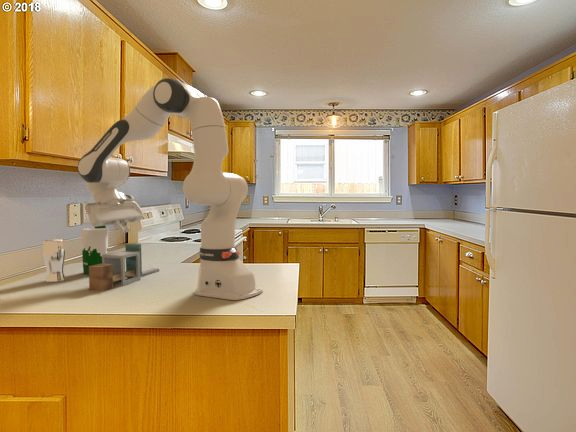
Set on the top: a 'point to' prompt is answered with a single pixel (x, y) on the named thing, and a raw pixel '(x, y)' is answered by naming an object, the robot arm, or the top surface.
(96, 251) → the milk carton
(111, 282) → the walnut block
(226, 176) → the robot arm
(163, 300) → the top surface
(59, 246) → the beer glass
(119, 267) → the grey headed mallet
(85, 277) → the top surface
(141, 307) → the top surface
